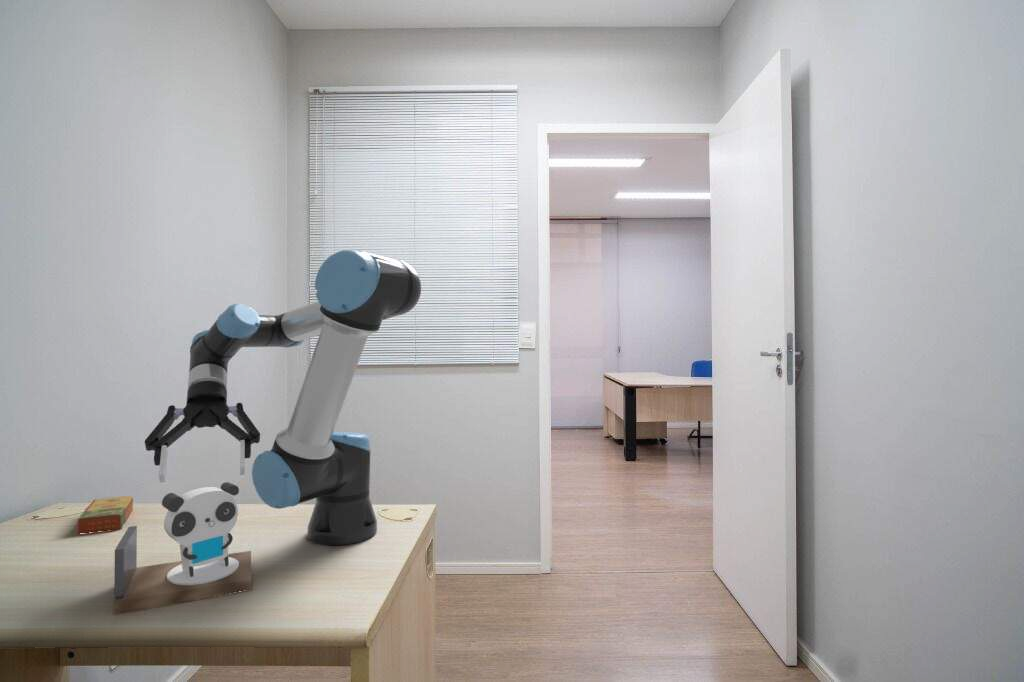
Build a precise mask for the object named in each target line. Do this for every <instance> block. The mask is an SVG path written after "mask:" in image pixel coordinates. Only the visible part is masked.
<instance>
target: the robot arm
mask: <svg viewBox="0 0 1024 682" xmlns="http://www.w3.org/2000/svg"><path fill="white" fill-rule="evenodd" d="M314 289H315V290H316V293H315V296H316V299H317V301H315V302H311V303H309V304H305V305H303V306H301V307H298V308H295V309H292V310H289V311H286V312H284V313H281V314H277V315H270V314H269V315H265V314H264V315H263V314H258V313H257V311H256V310H255V309H253V308H252V307H250V306H246V305H245V304H243V303H233V304H231V305H229V306H228V307H227V308H226V309H225V310H224V311H223V312H222V313H220V315H219V316H218V317H217V319H216V320H215V321H214V323H213V324H212V326H211V327H210V328H209V329H207V330H203V331H202V332H198V333H196V334H195V335H194V336H193V338H192V341H191V344H190V347H189V349H190V350H189V354H190V355H189V356H190V357H189V371H188V372H189V373H188V377H187V379H188V380H187V393H186V396H187V397H186V404H185V407H183V408H178V407H177V408H176V406H175V405H173V404H172V405H168V408H167V411H166V414H165V415H164V417H162V419H161V420H160V422H159V423H158V424H157V425H156V426H155V427H154V429H152V431H151V432H150V434H148V436H147V437H146V438H145V440H144V446H145V451H148V452H150V451H154V452H153V453H154V455H153V463H154V466H155V467H156V466H157V467H158V466H159V468H158V469H159V470H158V478H159V479H158V480H159V483H165V482H166V474H167V473H166V472H167V463H168V461H167V460H168V454H169V453H168V448H169V447H170V446H171V445H173V444H174V443H175V442H176V441H177V440H178V439H180V438H181V437H182V436H183V435H184V434H186V433H187V432H189V431H191V430H192V429H194V428H195V427H197V429H198V428H199V429H202V428H206V427H207V428H215V427H216V426H218V427H219V428H221V429H222V430H225V431H226V432H227V433H228V434H229V435H231V437H233V438H235V440H237V441H239V442H240V444H239V447H240V450H239V451H240V453H239V455H240V457H239V458H240V459H239V460H240V461H239V462H240V468H239V469H240V472H239V475H245V471H246V470H245V469H246V467H245V466H246V465H245V459H250V458H251V456H252V448H251V446H252V445H253V444H259V443H260V441H261V433H260V431H259V430H258V428H257V427H256V426H255V424H254V423H253V421H252V420H251V419H250V417H249V416H248V415H247V413H246V412H245V411H244V406H243V402H238V403H236V405H230V406H229V405H228V403H227V402H228V398H227V397H228V367H229V362H230V361H231V360H232V358H233V357H234V356H235V355H236V354H237V353H238V352H239V350H240V349H242V348H264V347H265V348H266V347H267V348H272V347H273V348H274V347H275V348H276V347H277V348H290V347H291V348H292V347H298V346H300V345H302V344H303V342H304V341H305V340H307V339H311V338H315V337H317V336H319V337H318V339H317V341H316V345H315V347H314V350H313V353H312V356H311V360H310V361H309V365H308V367H307V369H306V370H307V371H306V374H305V377H304V379H303V383H302V386H301V388H300V391H299V394H298V396H297V399H296V402H295V404H294V405H295V406H294V408H293V411H292V415H291V416H290V419H289V422H288V426H287V427H286V428H284V429H281V430H280V431H279V432H278V433H277V434H276V436H275V439H274V442H273V445H272V447H271V450H264V451H263V452H262V453H260V454H258V455H257V456H256V457H255V459H254V460H253V463H252V467H251V477H252V478H251V479H252V483H253V486H254V488H255V492H256V493H257V495H258V497H259V498H260V499H261V501H262V502H263V503H264V504H266V505H267V506H269V507H270V508H273V509H278V510H279V509H285V508H290V507H291V508H292V507H295V506H297V505H299V504H303V503H306V502H308V501H312V500H314V499H315V503H314V507H313V510H312V513H311V516H310V518H309V522H308V525H307V539H308V540H309V541H310V542H311V543H315V544H318V545H325V546H341V545H350V544H355V543H360V542H363V541H365V540H367V539H370V538H372V537H373V536H374V535H376V533H377V532H378V520H377V516H376V514H375V510H374V507H373V505H372V501H371V498H370V484H371V482H370V481H371V480H370V479H371V453H372V452H371V451H372V450H371V447H370V445H371V443H370V437H369V436H368V435H366V434H364V433H362V432H361V433H360V432H353V431H351V432H350V431H334V430H335V427H336V426H337V425H336V424H337V422H338V420H339V417H340V414H341V411H342V408H343V406H344V403H345V400H346V398H347V395H348V391H349V390H350V387H351V384H352V381H353V378H354V376H355V373H356V370H357V368H358V364H359V362H360V359H361V357H362V353H363V351H364V348H365V346H366V342H367V340H368V337H369V336H370V335H372V334H376V333H377V332H378V331H379V330H380V328H381V326H382V322H383V320H387V319H390V318H394V317H398V316H402V315H405V314H407V313H408V312H410V311H411V310H412V309H414V308H415V306H416V305H417V304H418V302H419V299H420V298H421V295H422V283H421V280H420V277H419V274H418V273H417V271H416V270H415V268H413V266H412V265H410V264H409V263H407V262H406V261H404V260H401V259H398V258H395V257H394V258H392V257H388V256H383V255H379V254H375V253H371V252H367V251H364V250H353V249H351V250H350V249H345V250H338V251H337V252H335V253H333V254H331V255H329V256H328V257H327V258H326V259H325V260H324V261H323V262H322V264H321V265H320V267H319V269H318V270H317V272H316V277H315V281H314ZM229 413H230V414H232V415H233V416H234V417H236V418H237V420H238V422H239V424H241V425H240V426H242V427H243V429H242V428H241V427H240V426H238V424H236V423H235V422H234V421H232V420H231V419H230V418H229V416H228V415H229ZM181 416H183V417H184V418H182V420H181V421H180V422H179V423H177V425H175V426H174V427H173V428H171V427H172V425H173V424H174V422H175V421H177V420H178V419H179V418H180V417H181ZM170 428H171V429H170ZM169 429H170V430H169ZM168 430H169V431H168Z"/></svg>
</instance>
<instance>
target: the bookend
mask: <svg viewBox="0 0 1024 682" xmlns="http://www.w3.org/2000/svg"><path fill="white" fill-rule="evenodd" d="M137 537H138V526H137V525H133V526H128V527H127V529H126V531H125V533H124V534H123V536H121V539H120V541H119V542H118V544H117V545H116V547H115V549H114V582H113V583H114V585H113V586H114V591H113V592H114V597H113V599H114V600H115V599H121V598H124V596H125V593H126V591H127V589H128V587H129V585H130V583H131V580H132V578H133V576H134V574H135V572H136V569H137V568H138V567H137V563H138V561H137V555H138V554H137V553H138V551H137V548H138V542H137V541H138V539H137ZM114 600H113V601H114Z"/></svg>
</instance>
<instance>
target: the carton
mask: <svg viewBox="0 0 1024 682" xmlns="http://www.w3.org/2000/svg"><path fill="white" fill-rule="evenodd" d="M133 503H134V496H133V495H127V496H115V497H106V498H96V499H93V500H92V501H91V503H90V504H89V505H88V506H87V508H86V509H85V510H84V511H83V512H82V513H81V514H80V516H79V517H77V527H76V528H77V529H76V535H77V534H80V533H89V532H98V531H107V532H109V531H108V530H115V531H120V530H119V529H121V530H122V529H123V528H122V527H124V526H123V525H125V524H126V522H127V521H128V519H129V517H130V516H131V514H132V512H133V511H134V509H133V508H134V507H133V506H134V504H133Z"/></svg>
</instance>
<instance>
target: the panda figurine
mask: <svg viewBox="0 0 1024 682" xmlns="http://www.w3.org/2000/svg"><path fill="white" fill-rule="evenodd" d="M239 493H240V488H239V486H237V485H235V484H234V483H231V482H229V481H226V482H223V483H222V484H221V485H220V488H219V487H216V486H215V487H214V486H208V487H200V488H195V489H191V490H189V491H187V492H185V493H182V494H181V495H180V496H179V495H178V494H176V493H173V492H170V493H168V494H166V495H164V497H163V498H162V501H161V506H162V507H163V508H165V509H166V510H168V511H167V512H166V513H165V514H166V515H165V517H164V521H163V529H164V531H165V532H166V535H167V536H169V538H171V539H172V540H173V541H175V542H176V543H177V544H179V549H180V559H181V560H180V561H182V564H180V565H178V566H176V567H175V568H173V569H172V570H170V571H169V572H168V574H167V580H168V581H169V582H170V583H173V584H177V585H196V584H203V583H208V582H212V581H216V580H219V579H222V578H224V577H226V576H229V575H230V574H232V573H234V572H235V571H236V570H237V569H238V567H239V562H238V560H236V559H234V558H231V557H228V554H229V549H228V548H229V546H230V545H231V544H232V542H233V539H234V538H233V535H232V534H231V533H230V532H231V531H232V530H233V529H234V527H235V525H236V523H237V519H238V516H239V509H238V505H237V501H236V499H235V497H234V496H237V495H238V494H239Z"/></svg>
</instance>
